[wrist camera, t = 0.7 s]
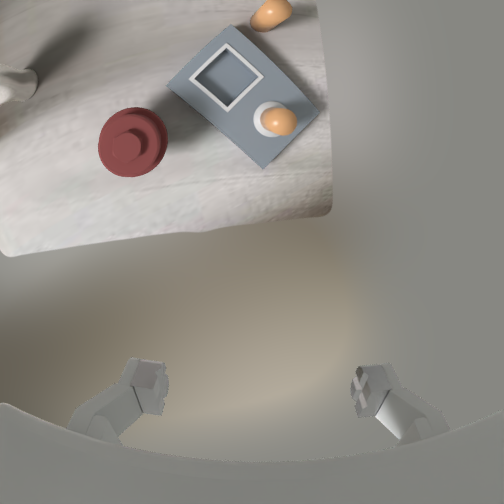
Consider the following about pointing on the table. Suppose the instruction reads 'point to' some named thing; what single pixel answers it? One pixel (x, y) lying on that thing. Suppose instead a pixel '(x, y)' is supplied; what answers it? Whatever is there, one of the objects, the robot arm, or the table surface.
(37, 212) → the table surface
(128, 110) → the mechanical component
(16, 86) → the beer glass
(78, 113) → the table surface
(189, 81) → the grey peg board
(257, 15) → the orange smooth rounded part
